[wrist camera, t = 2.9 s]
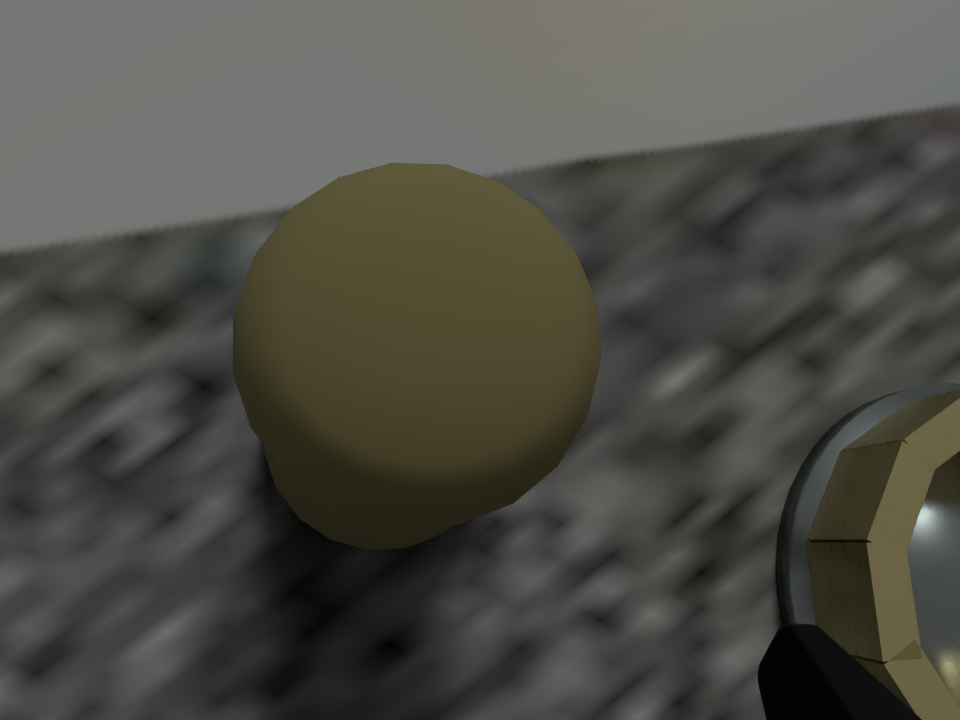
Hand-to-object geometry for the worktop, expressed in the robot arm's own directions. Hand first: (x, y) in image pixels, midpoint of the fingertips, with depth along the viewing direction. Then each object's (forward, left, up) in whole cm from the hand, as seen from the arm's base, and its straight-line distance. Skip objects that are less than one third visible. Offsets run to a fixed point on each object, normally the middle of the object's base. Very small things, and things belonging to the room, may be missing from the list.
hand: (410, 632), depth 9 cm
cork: (+3, +2, -11) cm, 12 cm away
